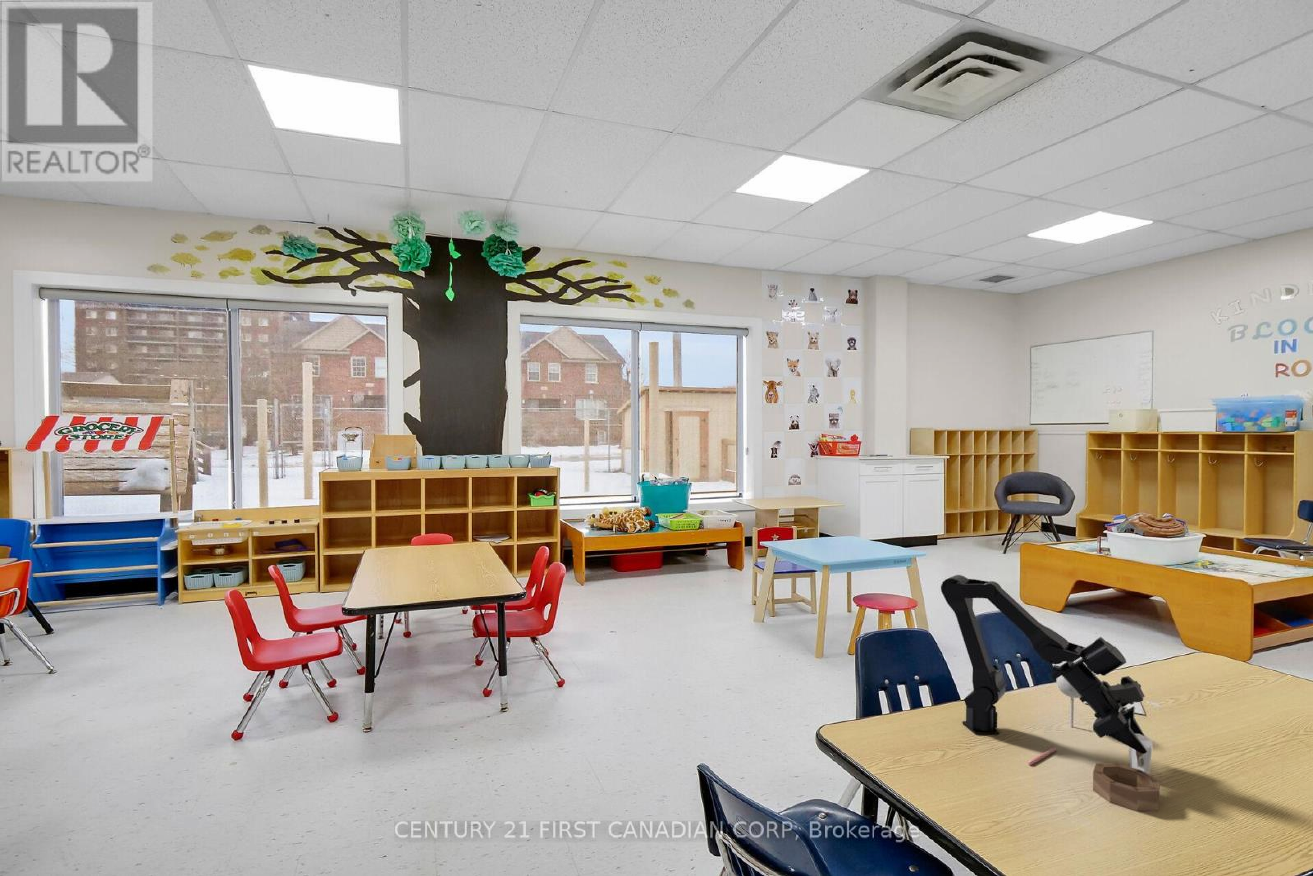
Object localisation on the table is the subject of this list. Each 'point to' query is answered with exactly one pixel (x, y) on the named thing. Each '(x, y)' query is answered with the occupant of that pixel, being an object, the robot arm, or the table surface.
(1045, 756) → the pink rod
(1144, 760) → the milkshake
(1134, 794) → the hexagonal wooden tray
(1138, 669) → the table surface
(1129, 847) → the table surface
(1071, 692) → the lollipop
